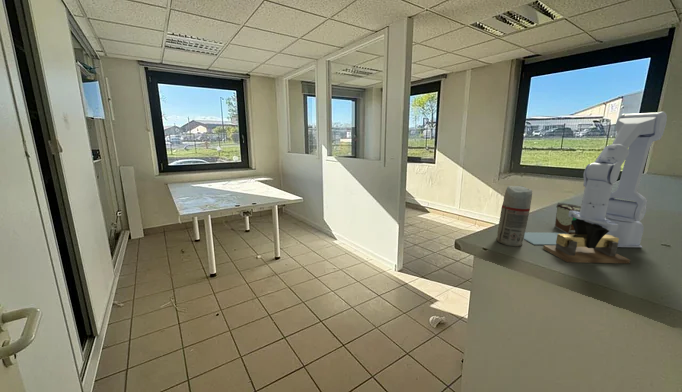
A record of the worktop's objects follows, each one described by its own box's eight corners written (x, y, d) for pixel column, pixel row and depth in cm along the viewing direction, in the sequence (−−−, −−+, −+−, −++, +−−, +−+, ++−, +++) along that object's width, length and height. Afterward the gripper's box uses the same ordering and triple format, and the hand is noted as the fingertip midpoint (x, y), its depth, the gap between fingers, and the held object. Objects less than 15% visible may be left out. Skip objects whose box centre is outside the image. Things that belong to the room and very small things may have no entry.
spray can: (526, 242, 94) (535, 186, 90) (521, 249, 88) (531, 189, 84) (499, 236, 100) (506, 183, 96) (493, 242, 94) (500, 186, 90)
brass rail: (607, 243, 84) (609, 234, 84) (616, 247, 82) (619, 238, 81) (555, 242, 85) (557, 233, 84) (563, 246, 82) (565, 237, 81)
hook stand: (598, 249, 89) (601, 233, 87) (629, 263, 79) (633, 245, 78) (543, 248, 89) (545, 232, 88) (567, 262, 79) (570, 244, 78)
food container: (589, 236, 101) (595, 211, 98) (570, 235, 102) (576, 210, 100) (569, 226, 112) (573, 203, 110) (552, 225, 114) (557, 202, 111)
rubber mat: (565, 233, 103) (565, 232, 103) (593, 246, 92) (593, 245, 91) (512, 233, 104) (513, 232, 104) (533, 245, 92) (534, 243, 92)
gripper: (562, 197, 88) (554, 236, 90) (603, 209, 73) (593, 255, 76) (584, 197, 87) (576, 237, 90) (630, 209, 73) (618, 255, 76)
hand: (585, 245), depth 83 cm, fingers closed on brass rail, 3 cm apart
